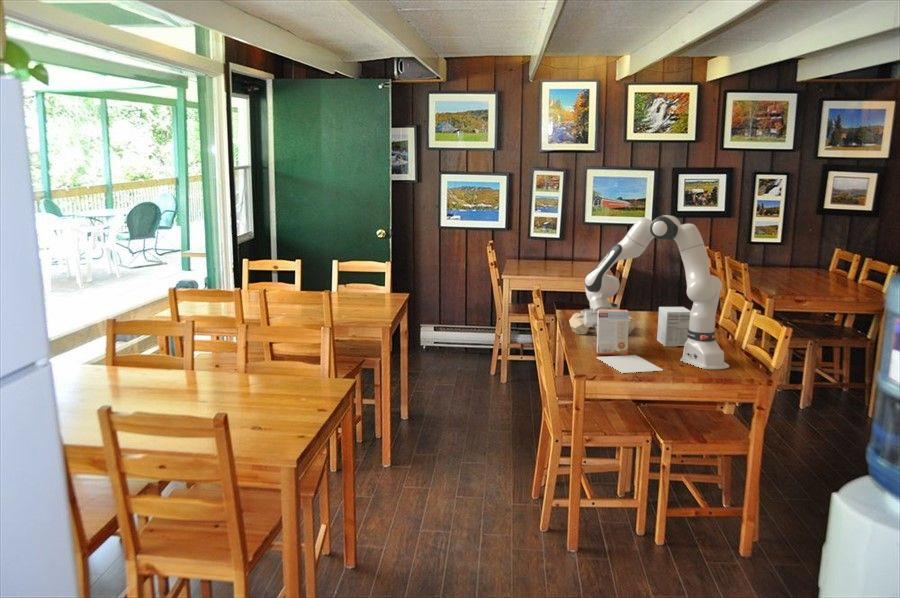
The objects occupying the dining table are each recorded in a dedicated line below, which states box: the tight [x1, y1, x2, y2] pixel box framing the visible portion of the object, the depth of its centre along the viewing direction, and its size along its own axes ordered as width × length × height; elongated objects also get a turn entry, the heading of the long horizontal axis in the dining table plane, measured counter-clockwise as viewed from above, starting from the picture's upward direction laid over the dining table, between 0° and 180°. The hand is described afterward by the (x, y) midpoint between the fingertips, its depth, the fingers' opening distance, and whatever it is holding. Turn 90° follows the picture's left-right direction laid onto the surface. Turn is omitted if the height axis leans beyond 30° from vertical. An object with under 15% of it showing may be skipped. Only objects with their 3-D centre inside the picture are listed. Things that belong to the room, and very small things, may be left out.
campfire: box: [568, 312, 636, 336], centre depth 406 cm, size 35×34×17 cm
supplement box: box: [656, 306, 691, 347], centre depth 381 cm, size 13×13×18 cm
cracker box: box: [596, 309, 630, 356], centre depth 359 cm, size 14×6×21 cm, turn 84°
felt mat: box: [595, 354, 664, 375], centre depth 344 cm, size 26×20×1 cm
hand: (608, 332), depth 363 cm, fingers closed
